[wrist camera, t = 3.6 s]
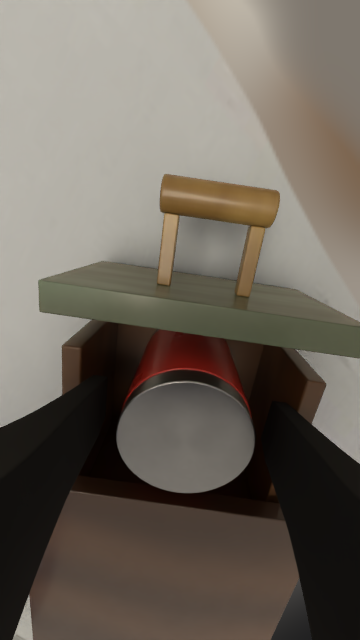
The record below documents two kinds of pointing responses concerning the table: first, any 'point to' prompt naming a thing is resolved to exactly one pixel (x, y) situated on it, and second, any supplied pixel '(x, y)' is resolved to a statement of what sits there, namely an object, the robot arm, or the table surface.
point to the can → (186, 415)
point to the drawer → (198, 324)
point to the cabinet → (162, 566)
